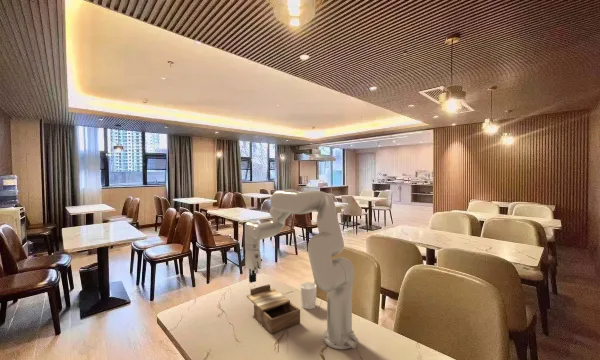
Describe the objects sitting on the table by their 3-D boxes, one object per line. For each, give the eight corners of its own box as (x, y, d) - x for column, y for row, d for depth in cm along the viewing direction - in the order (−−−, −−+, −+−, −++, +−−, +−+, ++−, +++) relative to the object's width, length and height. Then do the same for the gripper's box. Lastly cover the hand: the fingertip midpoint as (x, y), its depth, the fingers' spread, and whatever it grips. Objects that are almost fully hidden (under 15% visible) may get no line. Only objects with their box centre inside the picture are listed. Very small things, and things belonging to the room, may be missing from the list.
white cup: (317, 310, 127) (316, 289, 126) (300, 310, 127) (300, 289, 127) (316, 301, 135) (316, 282, 134) (300, 301, 135) (300, 282, 134)
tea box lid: (290, 302, 122) (289, 295, 122) (262, 311, 114) (262, 303, 114) (272, 289, 135) (272, 283, 135) (246, 297, 127) (246, 290, 127)
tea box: (300, 323, 116) (300, 309, 116) (271, 334, 108) (271, 320, 107) (281, 308, 129) (280, 295, 129) (254, 317, 121) (253, 304, 121)
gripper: (265, 248, 133) (266, 285, 134) (252, 241, 145) (253, 275, 146) (251, 251, 129) (252, 288, 129) (239, 244, 141) (239, 278, 142)
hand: (252, 281), depth 138 cm, fingers closed
